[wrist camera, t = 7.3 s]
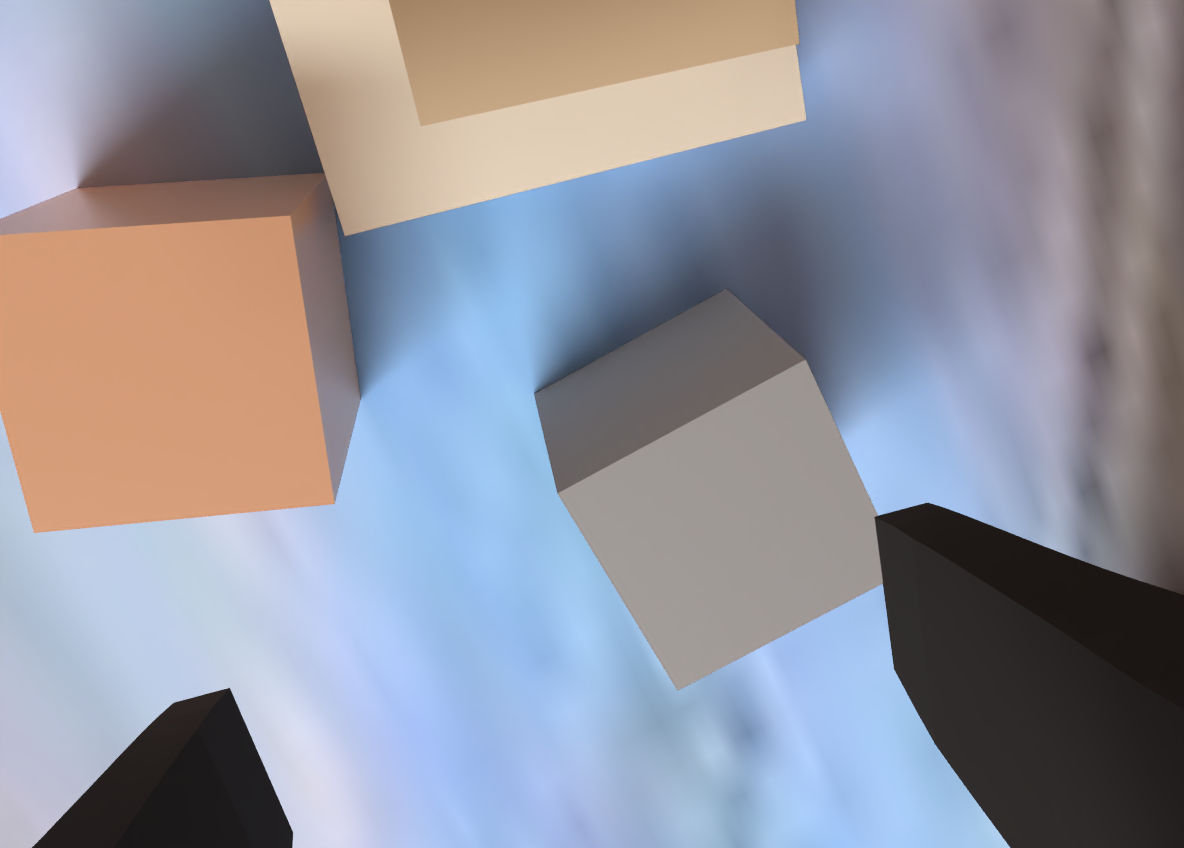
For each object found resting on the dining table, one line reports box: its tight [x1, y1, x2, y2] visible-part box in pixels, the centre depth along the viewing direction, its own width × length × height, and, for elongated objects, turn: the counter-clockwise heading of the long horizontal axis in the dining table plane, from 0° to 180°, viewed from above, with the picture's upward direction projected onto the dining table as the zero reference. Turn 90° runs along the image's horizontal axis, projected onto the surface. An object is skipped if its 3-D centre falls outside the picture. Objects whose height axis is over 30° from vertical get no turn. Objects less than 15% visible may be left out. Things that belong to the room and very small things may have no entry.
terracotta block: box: [0, 173, 361, 533], centre depth 17 cm, size 4×4×5 cm
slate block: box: [534, 289, 883, 690], centre depth 19 cm, size 4×4×5 cm
